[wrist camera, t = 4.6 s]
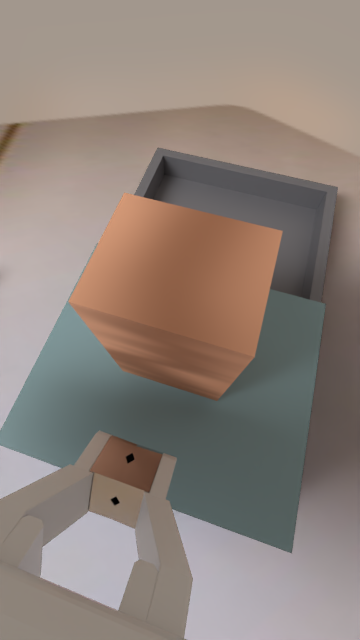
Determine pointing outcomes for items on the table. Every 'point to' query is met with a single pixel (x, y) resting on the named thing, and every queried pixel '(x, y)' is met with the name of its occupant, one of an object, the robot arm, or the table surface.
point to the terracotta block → (178, 293)
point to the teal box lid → (187, 419)
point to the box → (254, 210)
